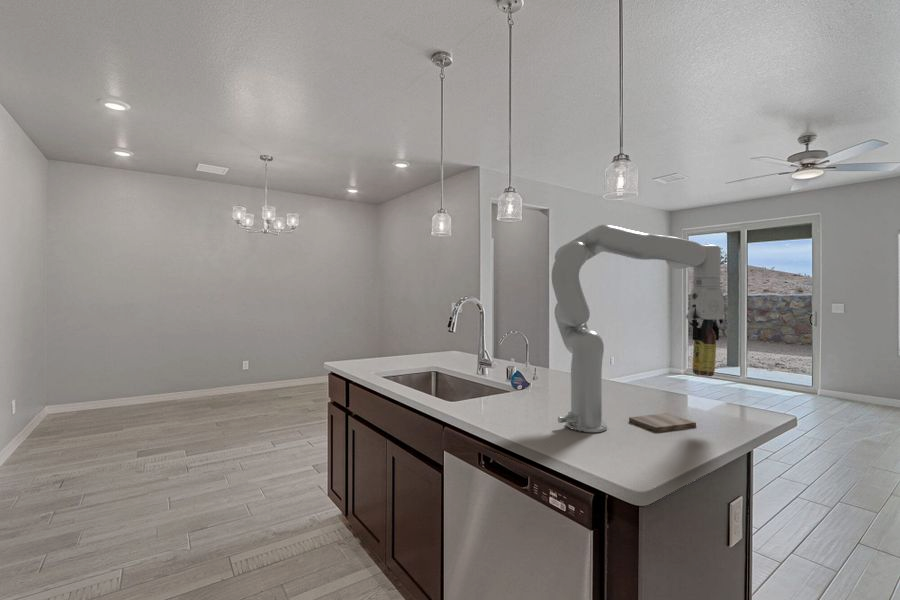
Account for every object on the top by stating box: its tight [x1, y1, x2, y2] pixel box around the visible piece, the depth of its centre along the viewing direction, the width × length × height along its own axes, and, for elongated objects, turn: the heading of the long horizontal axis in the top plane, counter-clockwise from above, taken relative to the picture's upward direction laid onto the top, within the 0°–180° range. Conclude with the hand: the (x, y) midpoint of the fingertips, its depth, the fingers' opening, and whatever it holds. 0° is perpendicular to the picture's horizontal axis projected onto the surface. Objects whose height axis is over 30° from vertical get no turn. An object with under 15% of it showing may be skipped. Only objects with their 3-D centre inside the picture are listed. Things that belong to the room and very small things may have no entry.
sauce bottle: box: [692, 317, 717, 377], centre depth 141 cm, size 7×6×20 cm
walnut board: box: [628, 412, 697, 433], centre depth 144 cm, size 16×12×2 cm
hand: (705, 339), depth 141 cm, fingers closed on sauce bottle, 6 cm apart
